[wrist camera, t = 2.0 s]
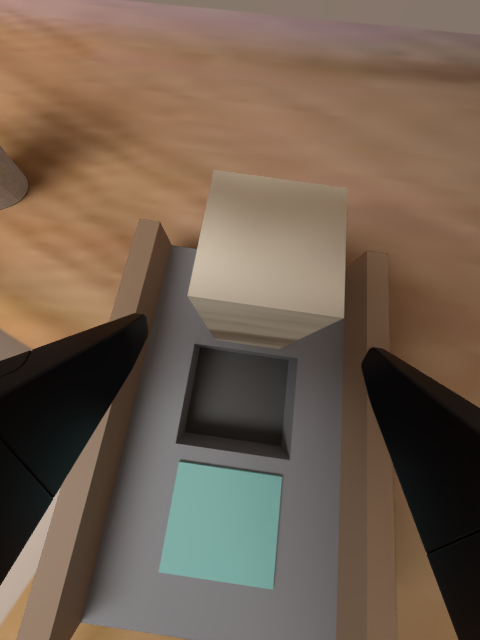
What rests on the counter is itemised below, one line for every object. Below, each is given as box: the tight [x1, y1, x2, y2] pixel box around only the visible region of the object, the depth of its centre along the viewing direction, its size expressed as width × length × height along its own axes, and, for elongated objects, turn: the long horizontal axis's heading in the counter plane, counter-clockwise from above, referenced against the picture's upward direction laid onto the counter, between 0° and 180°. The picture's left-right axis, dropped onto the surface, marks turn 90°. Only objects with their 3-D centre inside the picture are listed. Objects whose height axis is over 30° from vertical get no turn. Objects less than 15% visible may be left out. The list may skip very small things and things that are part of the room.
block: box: [187, 170, 347, 349], centre depth 12 cm, size 5×5×10 cm
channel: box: [17, 219, 397, 640], centre depth 15 cm, size 25×18×6 cm
